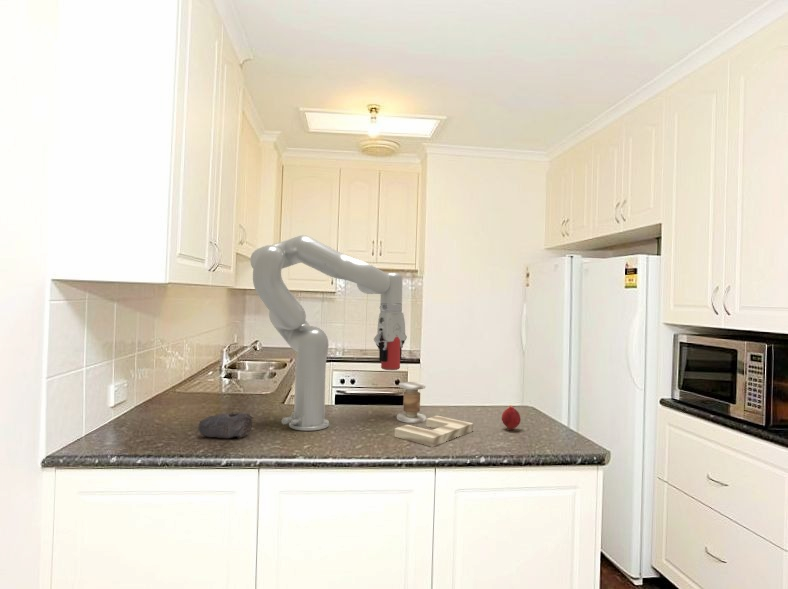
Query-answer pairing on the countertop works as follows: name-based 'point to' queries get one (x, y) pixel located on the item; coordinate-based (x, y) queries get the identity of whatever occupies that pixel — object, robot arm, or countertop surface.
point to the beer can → (392, 355)
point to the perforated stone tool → (226, 425)
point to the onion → (511, 418)
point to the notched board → (434, 431)
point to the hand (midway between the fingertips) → (390, 359)
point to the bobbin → (411, 403)
